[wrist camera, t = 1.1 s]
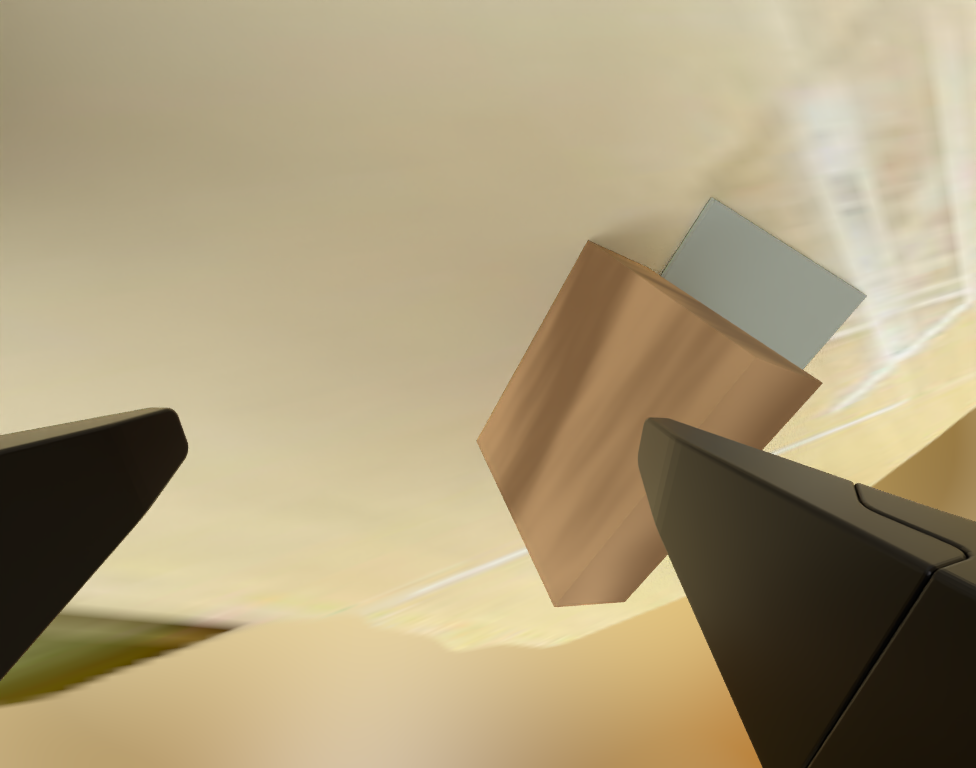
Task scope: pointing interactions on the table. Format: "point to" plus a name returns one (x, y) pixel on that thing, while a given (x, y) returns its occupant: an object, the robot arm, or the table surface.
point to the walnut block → (620, 418)
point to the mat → (761, 284)
